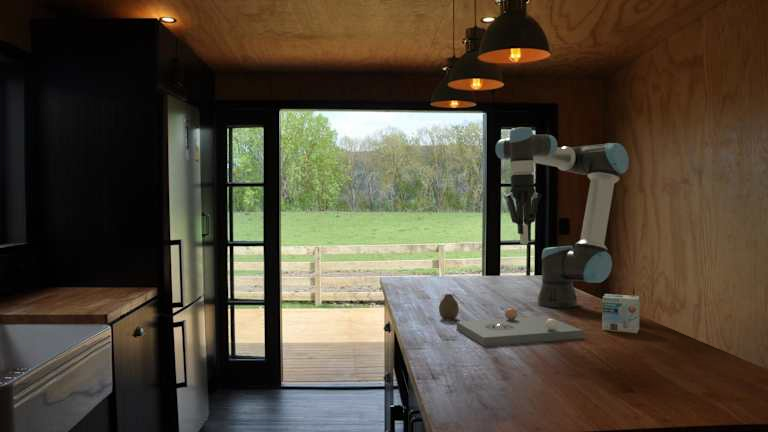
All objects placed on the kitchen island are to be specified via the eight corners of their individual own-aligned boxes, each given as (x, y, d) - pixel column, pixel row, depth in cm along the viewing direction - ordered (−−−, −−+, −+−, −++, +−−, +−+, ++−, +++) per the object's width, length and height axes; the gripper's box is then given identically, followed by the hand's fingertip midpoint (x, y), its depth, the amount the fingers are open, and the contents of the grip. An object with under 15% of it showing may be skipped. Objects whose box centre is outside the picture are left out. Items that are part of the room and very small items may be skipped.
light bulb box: (601, 330, 182) (601, 296, 182) (604, 326, 188) (604, 293, 188) (638, 333, 177) (638, 298, 177) (639, 329, 183) (639, 295, 183)
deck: (546, 323, 193) (546, 315, 193) (582, 338, 172) (582, 330, 172) (456, 329, 186) (456, 321, 186) (483, 346, 164) (483, 337, 164)
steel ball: (500, 321, 179) (490, 324, 178) (506, 324, 176) (495, 326, 175) (502, 332, 179) (492, 335, 179) (508, 334, 176) (497, 337, 175)
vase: (452, 322, 197) (452, 296, 197) (435, 319, 201) (435, 295, 201) (462, 318, 203) (462, 293, 202) (445, 316, 207) (445, 292, 207)
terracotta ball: (513, 318, 190) (513, 306, 190) (519, 320, 186) (519, 308, 186) (502, 319, 189) (502, 307, 189) (508, 321, 185) (508, 309, 185)
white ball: (553, 328, 174) (553, 317, 174) (559, 331, 171) (559, 319, 170) (543, 329, 173) (543, 318, 173) (549, 332, 170) (549, 320, 170)
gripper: (533, 173, 197) (535, 241, 199) (499, 174, 194) (501, 243, 195) (545, 172, 190) (547, 243, 191) (509, 174, 187) (512, 245, 188)
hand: (524, 243), depth 193 cm, fingers closed
